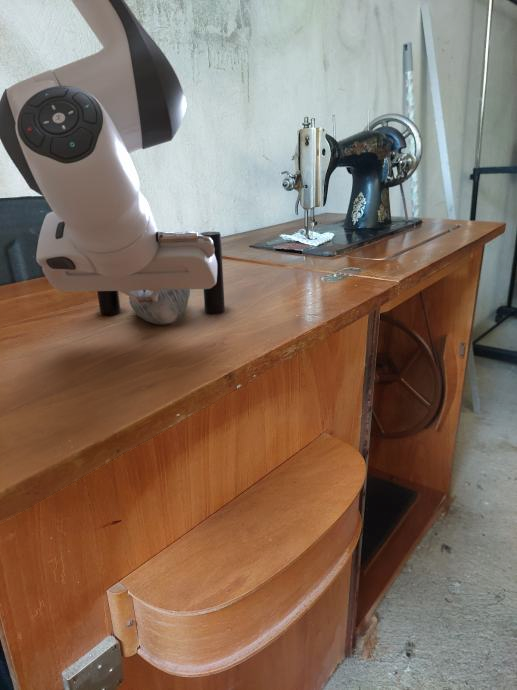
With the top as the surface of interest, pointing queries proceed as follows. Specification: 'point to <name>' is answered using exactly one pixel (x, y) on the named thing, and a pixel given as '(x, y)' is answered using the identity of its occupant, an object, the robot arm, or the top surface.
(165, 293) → the grey streaked stone
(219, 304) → the goal posts
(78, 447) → the top surface
